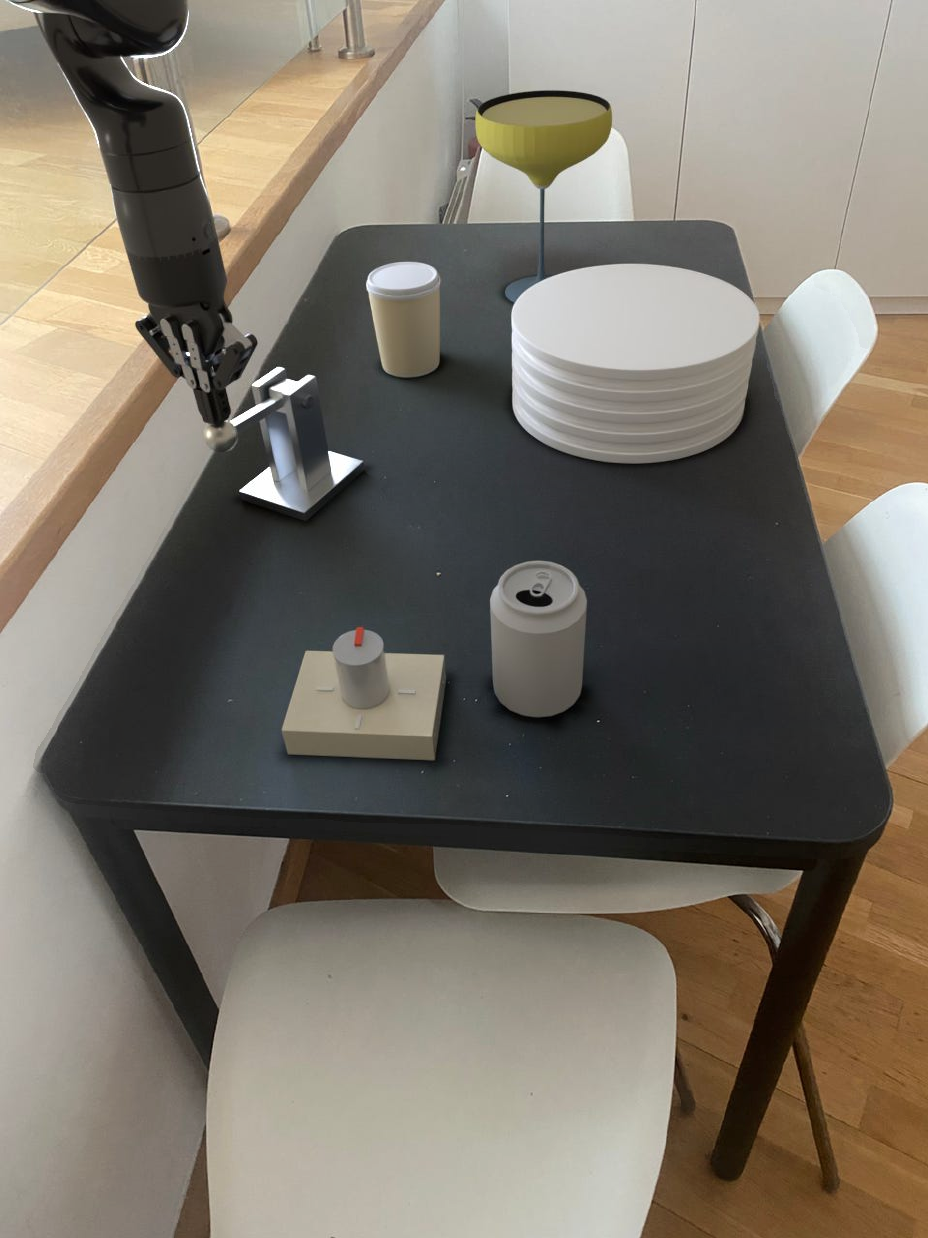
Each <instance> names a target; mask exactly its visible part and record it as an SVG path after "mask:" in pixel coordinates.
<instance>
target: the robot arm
mask: <svg viewBox="0 0 928 1238" xmlns="http://www.w3.org/2000/svg"><path fill="white" fill-rule="evenodd" d="M5 1H6V2H8V3H10V4H12V5H14V6H17V7H18V8H21V9H23V10H28V11H31V12H33V16H34V18H35V21H36V24H37V27H38V29H39V31H40V33H41V35H42V38H43V39H44V42H45V43H46V45H47V47H48V49H49V51H50V53H51V54H52V56H53V57H54V59H55V61H56V63H57V66H59V69H60V70H61V72H62V74H63V76H64V77H65V79H66V81H67V83H68V85H69V87H70V89H71V90H72V92H73V94H74V95H75V98H76V101H77V102H78V104H79V106H80V107H81V109H82V110H83V112H84V114H85V115H86V118H87V119H88V121H89V123H90V125H91V127H92V129H93V132H94V133H95V138H96V140H97V144H98V148H99V152H100V155H101V158H102V161H103V166H104V168H105V172H106V176H107V179H108V182H109V185H110V190H111V196H112V202H113V208H114V214H115V218H116V222H117V225H118V228H119V232H120V236H121V239H122V242H123V246H124V249H125V253H126V256H127V260H128V263H129V266H130V270H131V273H132V276H133V279H134V280H133V281H134V283H135V287H136V290H137V293H138V296H139V297H140V299H141V300H142V301H143V302H145V303H146V304H147V307H148V310H149V312H148V313H147V314H146V315H145V316H143V317H142V318H140V319H138V320H136V321H135V323H134V327H135V329H136V330H137V332H138V333H139V334H140V335H141V337H142V338H143V340H144V341H145V343H147V344H148V346H149V347H150V348H151V350H152V351H153V352H154V353H155V355H156V356H157V357H158V359H159V360H160V361H161V362H162V364H163V365H164V366H165V368H166V369H167V370H168V371H169V373H170V374H171V376H173V377H174V378H175V379H179V378H182V379H184V380H185V382H186V384H187V386H188V387H189V388H191V389H192V391H193V395H194V398H195V402H196V407H197V410H198V412H199V414H200V416H201V419H202V421H203V423H205V424H212V425H215V426H219V425H220V424H221V423H223V422H224V421H226V420H229V418H230V416H231V414H232V408H231V405H230V400H229V396H228V392H227V387H228V386H230V385H231V384H232V383H234V382H236V381H238V380H240V378H242V375H243V373H244V371H245V370H246V367H247V366H248V364H249V362H250V360H251V359H252V356H253V354H254V352H255V350H256V348H257V347H258V344H259V343H258V339H257V337H256V336H255V335H254V334H253V333H248V334H246V335H244V334H243V333H242V332H241V331H240V330H239V329H238V328H237V327H236V326H235V325H234V324H233V320H234V319H233V315H232V313H231V311H230V309H229V307H228V305H227V304H226V301H225V297H224V296H225V292H226V287H227V284H228V279H227V278H228V277H227V273H226V268H225V264H224V260H223V256H222V255H223V254H222V251H221V245H220V242H219V237H218V232H217V229H216V223H215V219H214V216H213V211H212V207H211V203H210V199H209V196H208V193H207V189H206V187H205V185H204V182H203V178H202V175H201V172H200V167H199V163H198V158H197V154H196V150H195V145H194V140H193V137H192V132H191V128H190V122H189V118H188V115H187V112H186V109H185V107H184V104H183V102H182V100H180V98H179V97H178V96H177V95H175V94H173V93H172V92H170V91H166V90H164V89H161V88H158V87H155V86H152V85H148V84H147V83H144V82H142V81H141V80H139V79H137V78H136V76H135V75H133V73H132V72H131V71H130V69H129V68H128V66H127V64H126V63H125V61H124V59H123V58H154V57H158V56H163V55H166V54H167V53H169V52H171V51H173V49H175V47H177V46H178V45H179V43H181V40H182V39H183V38H184V35H185V33H186V31H187V26H188V23H189V13H190V12H189V0H5ZM170 351H171V353H170Z"/></svg>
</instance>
